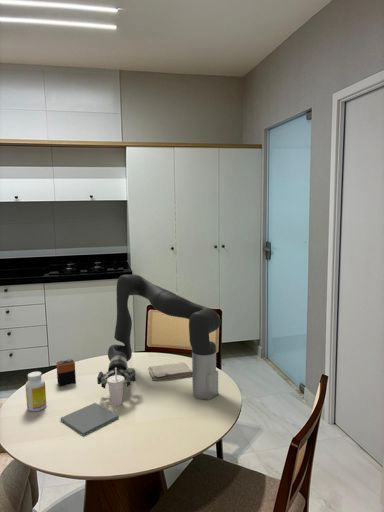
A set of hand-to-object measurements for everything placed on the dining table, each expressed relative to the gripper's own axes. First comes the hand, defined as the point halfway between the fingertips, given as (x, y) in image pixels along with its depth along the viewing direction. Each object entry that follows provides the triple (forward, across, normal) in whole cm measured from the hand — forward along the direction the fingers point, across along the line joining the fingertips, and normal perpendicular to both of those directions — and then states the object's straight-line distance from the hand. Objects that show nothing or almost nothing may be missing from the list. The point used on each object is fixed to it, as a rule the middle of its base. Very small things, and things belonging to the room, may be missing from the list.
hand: (115, 385), depth 145 cm
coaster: (+9, -9, +8) cm, 15 cm away
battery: (-22, -22, +8) cm, 32 cm away
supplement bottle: (-2, -29, +8) cm, 30 cm away
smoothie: (-1, 0, +8) cm, 8 cm away
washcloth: (-24, +22, +8) cm, 34 cm away
